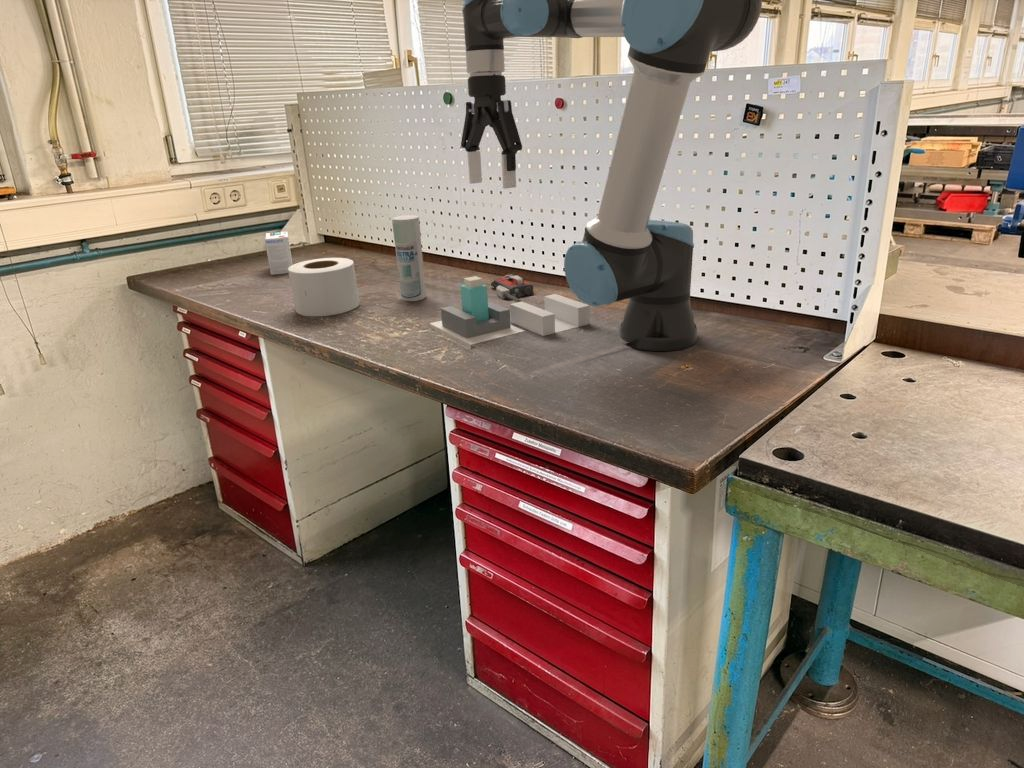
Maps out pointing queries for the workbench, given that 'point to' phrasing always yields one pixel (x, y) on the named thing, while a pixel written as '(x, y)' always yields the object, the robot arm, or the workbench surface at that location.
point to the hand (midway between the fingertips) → (492, 185)
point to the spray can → (409, 257)
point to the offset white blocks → (550, 315)
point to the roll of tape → (324, 286)
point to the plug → (475, 298)
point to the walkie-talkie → (512, 287)
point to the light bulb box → (278, 252)
